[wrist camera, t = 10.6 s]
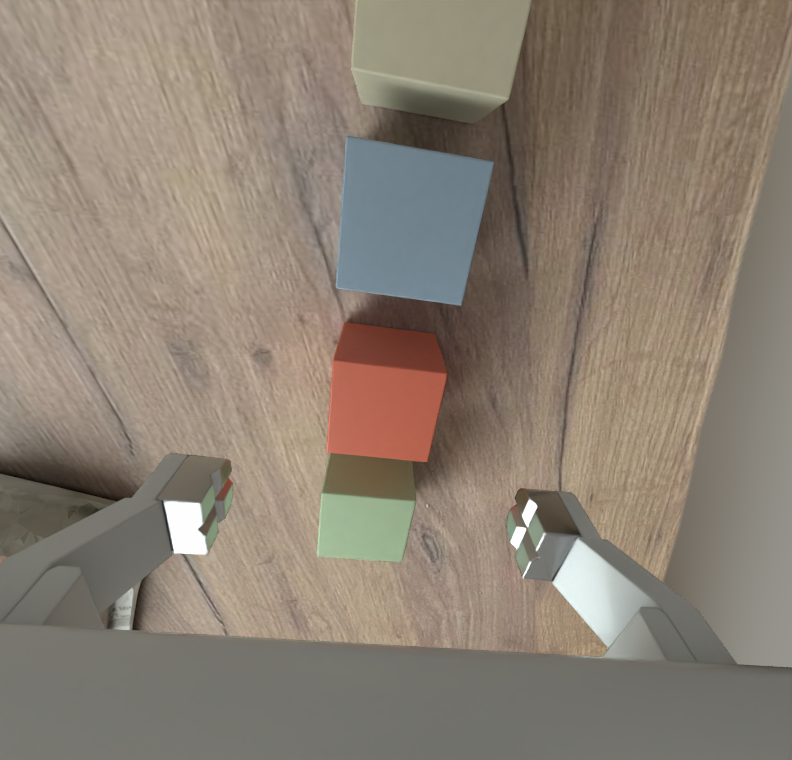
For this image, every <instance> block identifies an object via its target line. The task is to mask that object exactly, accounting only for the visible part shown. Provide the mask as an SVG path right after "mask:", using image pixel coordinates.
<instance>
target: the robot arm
mask: <svg viewBox="0 0 792 760" xmlns="http://www.w3.org/2000/svg"><path fill="white" fill-rule="evenodd" d="M231 471H232V468H231V461H230V460H228V459H221V458H213V457H205V456H197V455H185V454H177V453H170V454H168V455H166V456H165V457H164V458H163V460H162V461H161V462H160V463H159V465H158V466H157V467H156V468H155V470H154V471H153V472H152V473H151V474H150V476H149V477H148V478H147V479H146V481H145V482H144V483H143V484H142V486H141V487H140V488H139V489H138V491H137V492H136V493H135V494H134V495H133V497H132V498H123V499H121V500H119V501H118V502H116V503H114V504H112V505H110V506H108V507H106V508H104V509H102V510H100V511H98V512H96V513H94V514H92V515H90V516H88V517H86V518H84V519H82V520H80V521H78V522H76V523H74V524H72V525H71V526H69V527H67V528H65V529H63V530H61V531H59V532H57V533H55V534H53V535H51V536H49V537H47V538H45V539H43V540H41V541H39V542H37V543H35V544H33V545H31V546H29V547H27V548H26V549H24V550H22V551H20V552H18V553H16V554H14V555H12V556H10V557H8V558H6V559H4V560H3V561H2V562H1V563H0V760H792V668H791V667H773V666H755V665H738V664H737V663H736V662H735V660H734V659H733V658H732V656H731V655H730V654H729V652H728V651H727V649H726V648H725V646H724V645H723V644H722V642H721V641H720V640H719V638H718V637H717V635H716V634H715V633H714V632H713V630H712V629H711V627H710V626H709V624H708V623H707V622H706V620H705V619H704V618H703V616H702V615H701V613H700V612H699V611H698V609H697V608H695V607H694V606H693V605H691V604H690V603H689V602H687V601H686V600H685V599H683V598H682V597H681V596H679V595H678V594H677V593H676V592H674V591H673V590H672V589H670V588H669V587H668V586H667V585H665V584H664V583H663V582H661V581H660V580H659V579H657V578H656V577H655V576H654V575H652V574H651V573H650V572H648V571H647V570H646V569H644V568H643V567H642V566H641V565H639V564H638V563H637V562H635V561H634V560H633V559H631V558H630V557H629V556H628V555H626V554H625V553H624V552H622V551H621V550H620V549H618V548H617V547H616V546H615V545H613V544H612V543H611V542H609V541H608V540H605V539H601V537H600V535H599V534H598V532H597V530H596V529H595V527H594V526H593V524H592V522H591V521H590V519H589V517H588V516H587V514H586V512H585V511H584V509H583V507H582V506H581V504H580V502H579V501H578V499H577V497H576V496H575V495H574V494H573V493H571V492H561V491H548V490H536V489H525V488H521V489H519V490H518V491H517V494H516V496H515V500H516V502H517V504H516V505H515V506H513V507H512V508H511V509H510V510H509V513H508V516H507V526H506V527H507V534H508V537H509V540H510V543H511V544H512V545H514V546H515V547H516V548H517V549H518V550H517V553H516V555H515V558H516V561H517V564H518V567H519V569H520V572H521V575H522V578H524V579H533V580H543V581H552V584H553V585H554V586H555V587H556V588H557V589H558V590H559V592H560V593H561V594H562V595H563V596H564V597H565V599H566V600H567V601H568V602H569V603H570V604H571V605H572V607H573V608H574V609H575V610H576V611H577V612H578V613H579V615H580V616H581V617H582V618H583V619H584V620H585V622H586V623H587V624H588V625H589V626H590V627H591V628H592V630H593V631H594V632H595V633H596V634H597V635H598V636H599V638H600V639H601V640H602V641H603V642H604V643H605V645H606V646H607V647H608V649H607V650H606V652H605V653H604V654H603V656H602V657H597V656H579V655H561V654H544V653H526V652H508V651H490V650H472V649H454V648H436V647H419V646H401V645H383V644H365V643H347V642H330V641H312V640H294V639H276V638H259V637H241V636H224V635H206V634H188V633H171V632H153V631H136V630H118V629H105V628H104V625H103V623H102V620H101V618H100V615H99V614H100V613H102V612H103V611H104V610H105V609H107V608H108V607H109V606H110V605H112V604H113V603H114V602H115V601H116V600H118V599H119V598H120V597H121V596H123V595H124V594H125V593H126V592H127V591H129V590H130V589H131V588H132V587H134V586H135V585H136V584H137V583H138V582H140V581H141V580H142V579H143V578H145V577H146V576H147V575H148V574H150V573H151V572H152V571H153V570H154V569H156V568H157V567H158V566H159V565H161V564H162V563H163V562H164V561H165V560H167V559H168V558H169V557H170V556H172V553H186V554H207V555H208V553H209V551H210V549H211V547H212V545H213V543H214V541H215V539H216V537H217V535H218V533H219V531H218V523H219V522H220V521H222V520H223V519H225V518H226V516H227V513H228V511H229V509H230V505H231V502H232V498H233V483H232V482H231V480H230V479H229V478H228V477H229V475H230V473H231Z"/></svg>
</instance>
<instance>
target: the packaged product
mask: <svg viewBox="0 0 792 760" xmlns="http://www.w3.org/2000/svg"><path fill="white" fill-rule="evenodd" d="M114 503H116V501H112V500H108V499H104V498H100V497H96V496H92V495H88V494H84V493H80V492H75V491H71V490H67V489H63V488H59V487H55V486H51V485H46V484H42V483H38V482H33V481H29V480H25V479H21V478H16V477H12V476H8V475H3V474H0V563H1V562H2V561H3V560H4V559H6V558H8V557H10V556H12V555H14V554H16V553H18V552H20V551H22V550H24V549H26V548H27V547H29V546H31V545H33V544H35V543H37V542H39V541H41V540H43V539H45V538H47V537H49V536H51V535H53V534H55V533H57V532H59V531H61V530H63V529H65V528H67V527H69V526H71V525H72V524H74V523H76V522H78V521H80V520H82V519H84V518H86V517H88V516H90V515H92V514H94V513H96V512H98V511H100V510H102V509H104V508H106V507H108V506H110V505H112V504H114ZM140 584H141V581H140V582H138V583H137V584H136V585H135V586H134V587H132V588H131V589H130V590H129V591H127V592H126V593H125V594H124V595H123V596H121V597H120V598H119V599H118V600H116V601H115V602H114V603H113V604H112V605H110V606H109V607H108V608H107V609H105V610H104V611H103V612H102V613H100V614H99V615H100V618H101V620H102V623H103V625H104V628H105V629H118V630H132V629H133V619H134V613H135V607H136V601H137V595H138V591H139V587H140Z"/></svg>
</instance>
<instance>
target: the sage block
mask: <svg viewBox="0 0 792 760" xmlns="http://www.w3.org/2000/svg"><path fill="white" fill-rule="evenodd" d="M415 505H416V492H415V482H414V472H413V462H412V461H409V460H399V459H389V458H378V457H368V456H358V455H348V454H337V453H330V454H329V459H328V463H327V468H326V473H325V478H324V482H323V487H322V492H321V504H320V519H319V533H318V547H317V556H320V557H334V558H348V559H361V560H375V561H389V562H402V561H403V557H404V552H405V548H406V544H407V540H408V535H409V531H410V527H411V522H412V518H413V514H414V509H415Z"/></svg>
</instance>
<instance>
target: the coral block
mask: <svg viewBox="0 0 792 760" xmlns="http://www.w3.org/2000/svg"><path fill="white" fill-rule="evenodd" d="M447 376H448V372H447V369H446V366H445V363H444V360H443V357H442V354H441V351H440V348H439V346H438V343H437V340H436V337H435V334H434V333H426V332H418V331H410V330H403V329H395V328H387V327H379V326H372V325H364V324H356V323H348V322H345V323H344V326H343V329H342V332H341V336H340V339H339V342H338V345H337V349H336V352H335V355H334V358H333V365H332V379H331V393H330V407H329V421H328V435H327V449H326V451H327V452H328V453H337V454H348V455H358V456H368V457H378V458H389V459H399V460H409V461H419V462H427V461H428V458H429V454H430V449H431V445H432V441H433V436H434V432H435V428H436V423H437V419H438V415H439V411H440V406H441V402H442V398H443V393H444V389H445V385H446V380H447Z"/></svg>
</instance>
